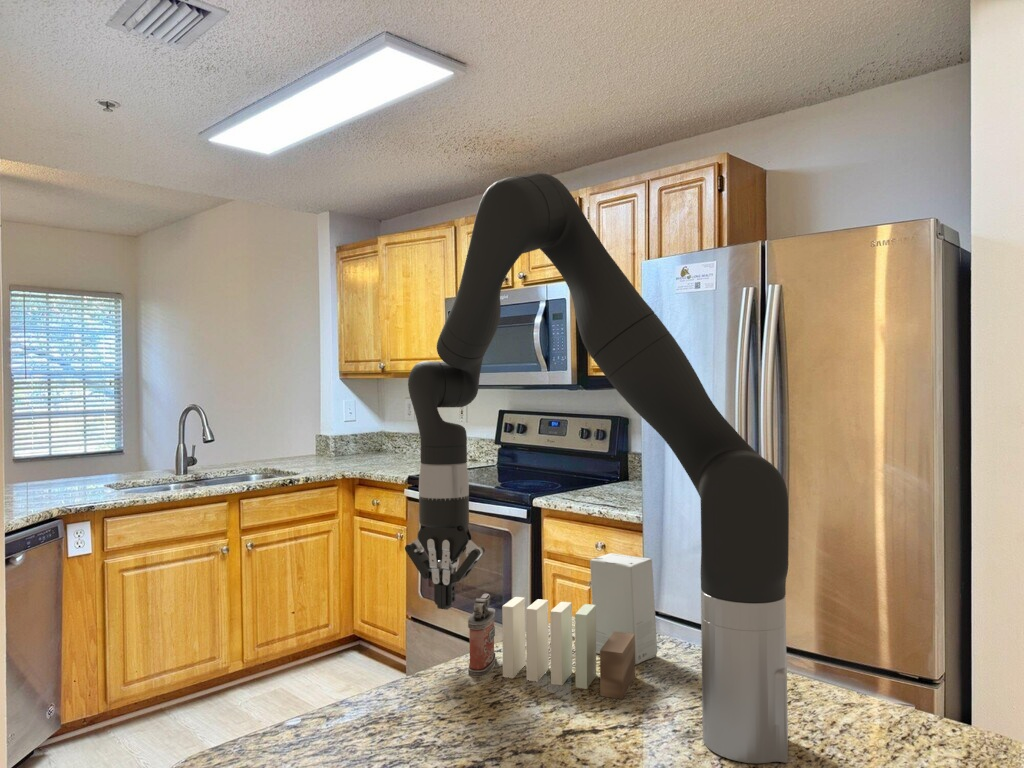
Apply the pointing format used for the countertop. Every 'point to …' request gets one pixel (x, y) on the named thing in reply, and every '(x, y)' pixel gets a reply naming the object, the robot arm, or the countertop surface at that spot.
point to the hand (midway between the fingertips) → (444, 607)
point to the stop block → (617, 665)
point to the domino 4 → (585, 645)
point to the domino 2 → (537, 640)
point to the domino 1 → (513, 636)
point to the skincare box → (624, 601)
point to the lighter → (481, 638)
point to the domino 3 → (561, 642)
